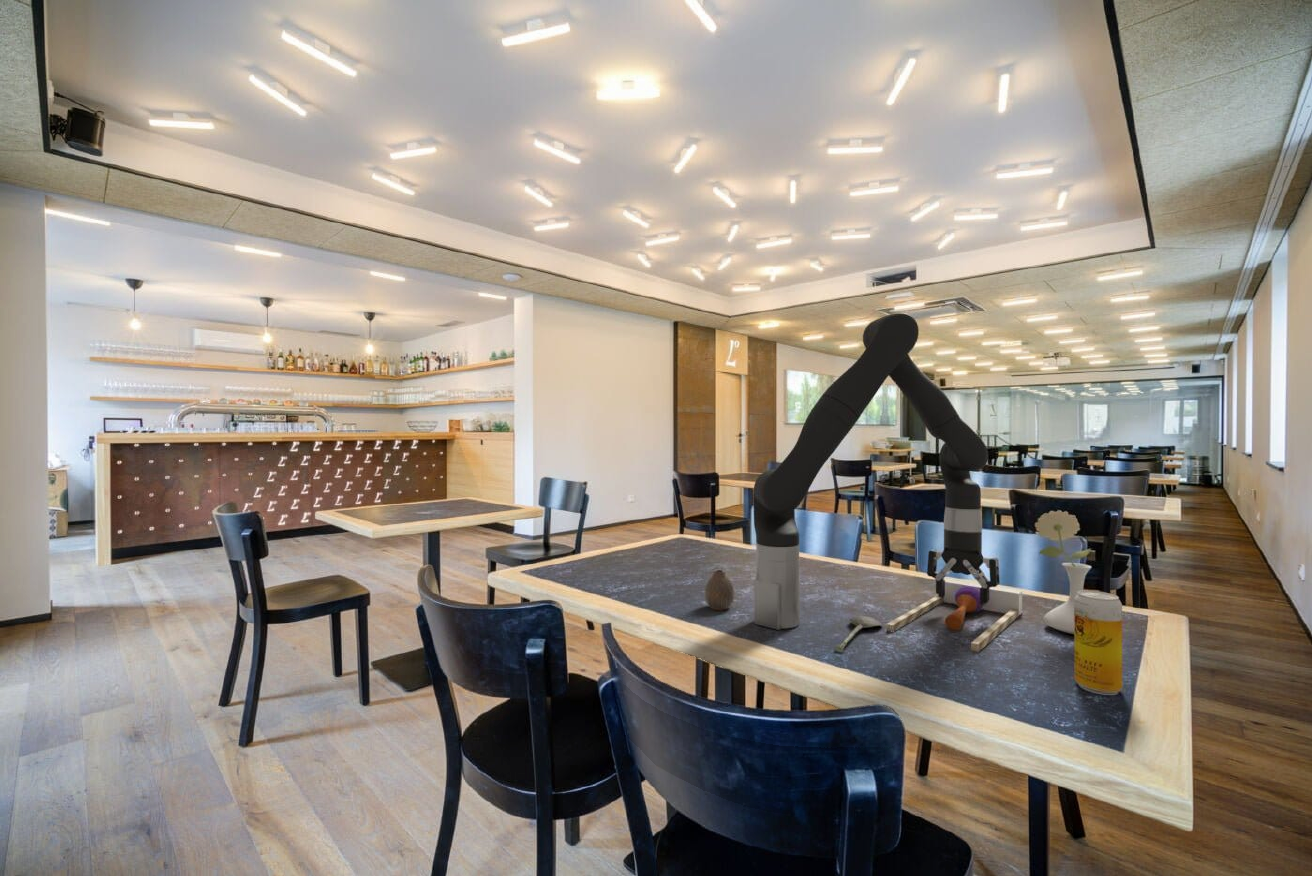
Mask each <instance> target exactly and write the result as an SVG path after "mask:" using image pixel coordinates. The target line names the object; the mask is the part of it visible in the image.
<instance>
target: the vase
mask: <svg viewBox="0 0 1312 876" xmlns="http://www.w3.org/2000/svg"><path fill="white" fill-rule="evenodd" d="M733 585H734V584H733V582H732V580H730V578H729V577H728V576H727V573H726V571H725V570H723V569H716V570H714V571H713V574H711V576H710V578H709V579H708V580H707V583H706V585H705V589H704V597H705V601H706V604H707V606H709V607H710V608H711V609H712V610H715V611H726V610H728V609H729V608H730V607H731V606H732V604H733V603H734V598H735V588H734V586H733Z"/></svg>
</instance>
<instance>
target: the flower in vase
mask: <svg viewBox="0 0 1312 876" xmlns="http://www.w3.org/2000/svg"><path fill="white" fill-rule="evenodd" d="M1080 526H1081V525H1080V523H1079V522H1078V518H1076V515H1074V514H1069V512H1068V511H1062V510H1060V509H1058V510H1057V511H1054V510H1050V511H1049V512H1048V513H1047V512H1045V513H1043V514H1041V515H1040V517H1039V518H1037V521H1036V522H1035V523H1034V527H1035V530H1036V531H1038V533H1037V534H1038V535H1039V536H1040V537H1042V538H1043V539H1047V538H1048V539H1049V540H1050V541H1057V542H1059V545H1060V548H1057V547H1055V546H1046V547H1045V548H1043V549H1041V550H1040V551H1039V552H1038V554H1039V555H1044V556H1048V557H1050V558H1051V557H1052V558H1056V557H1059V555H1061V554H1062V553H1063V554H1064V556H1065V557H1066V558H1067V559H1068V560H1069V562H1063V563H1061V566H1062V567H1063V568H1064V569H1065V571H1066V573H1067V577H1068V581H1069V597H1068V599H1067V600H1066V601H1065V602H1064V603H1062V604H1060V605H1058V606H1056V607H1055V608H1053V609H1051V610H1050V611H1048V612H1047V613H1045V614H1044V617H1043V620H1044V622H1045V623H1046V625H1048V626H1049V627H1050V628H1053V629H1054V630H1058V631H1060V632H1063V633H1068V634H1072V635H1074V598H1075V597H1076V595H1077V592H1078V591H1084V585H1085V580H1086V576H1087V574H1088V573H1089V571H1090V570H1091V569H1092V565H1089V564H1084V563H1078V562H1074V561H1072V560H1076V559H1077V560H1078V559H1082V558H1085V557H1086V556H1088V555H1089V554H1090V553H1091V550H1092V548H1088V549H1086V550H1080V551H1076V552H1074V553H1073V554H1072V555H1071V557H1070V556H1069V555H1068V554H1067V553H1066V551H1065V550H1064V547H1063V542H1062V541H1065V540H1067V539H1072V538H1074V537H1075V535H1076V534H1077V533H1078V531H1080V530H1081V527H1080Z"/></svg>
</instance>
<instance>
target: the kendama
mask: <svg viewBox="0 0 1312 876" xmlns="http://www.w3.org/2000/svg"><path fill="white" fill-rule="evenodd" d="M955 601H956V603H957V604H956V606H957V609H955V610H954V611H953V612H951V613H949V614H948V615H947V616H946V617H945V619H944V624H945V626H946V628H947V629H948V628H950V629H949V630H952V629H955V630H954V631H957V630H958V631H960V630H961V629H962V627H963V624H964V620H965V615H966V614H967V613H968V614H970V613H971V612H972V613H977V612H979V611H980V610H982V609H981V608H982V607H983V605H980V591H979V590H978V589H976V588H974V587H972V586H964V587H961V588H960V589H958V591H957V592H956V594H955Z"/></svg>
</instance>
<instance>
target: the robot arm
mask: <svg viewBox="0 0 1312 876" xmlns="http://www.w3.org/2000/svg"><path fill="white" fill-rule="evenodd" d="M918 338H919V326H918V322H917V320H916V319H915V318H914V317H913V316H912V315H910V314H908V313H905V312H894V313H889V314H887V315H884V316H882V317H879V318H877V319H875V320H873V321H871V322H870V323H869V324H867V326H866V327H865V328H864V331H863V334H862V343H863V345H864V348H865V350H864V351H863V353H862V354H861V355H860V357H859V358H857V360H856V361H855V362H854V364H852V365H851V366H850V367H849V368H848V369H847V370H846V371H844V372H843V373H842V375H840V376H839V377H838V378H837V379H835V381H833V383H832V384H830V385H829V386H828V388H827V389H826V390H825V391H824V392H823V393H822V395H821V396H820V398H819V399H818V400H817V402H816V403H815V404H814V406H813V407H812V408H811V410H810V412H809V413H808V415H807V417H806V419H805V421H804V424H803V426H802V428H801V431H800V434H799V436H798V438H797V441H796V443H795V445H794V447H793V448H792V449H791V451H790V452H789V453H788V455H787V456H786V457H785V458H784V460H783V461H782V462H781V463H780V464H779V465H778V467H777V468H776V469H768V470H765V471H764V472H761V474H760V475H758V477H757V478H756V480H755V482H754V484H753V485H754V486H753V494H752V495H753V496H752V497H753V499H752V500H753V502H752V503H753V525H754V526H753V528H754V532H755V545H756V546H755V547H756V549H755V551H756V552H755V555H756V556H755V573H756V575H755V577H756V579H754V580H753V589H754V590H753V592H754V593H753V599H754V600H753V607H754V608H753V617H754V618H753V620H754V621H753V623H754V624H755V625H759V626H763V627H767V628H770V629H773V630H782V629H792V628H796V627H797V626H799V625H800V532H799V529H798V526H797V522H796V518H795V517H796V516H795V515H796V514H795V510H796V509H797V508H798V507H799V506H800V505H801V503H802V501H803V500H804V498H806V494H807V493H808V491H809V489H810V487H811V486H812V484H813V482H814V480H815V479H816V478H817V475H818V474H819V472H820V471H821V469H822V468H823V466H824V465H825V463H826V462H827V461H828V460H829V458H831V456H832V455H833V454H834V452H835V451H836V450H837V448H838V447H839V446H840V444H841V443H842V442H843V440H844V439H845V438H846V436H848V435H849V433H850V431H851V430H852V429H853V427H854V425H855V424H856V423H857V422H858V420H859V419H860V418H861V416H862V415H863V413H864V411H865V410H866V408H868V407H869V404H870V403H871V401H872V400H873V398H874V397H875V396H876V394H877V393H878V391H879V390H880V388H881V386H882V385H883V383H885V381H886V379H887V378H888V377H889V378H890V379H891V380H892V382H893V383H894V384H895V385H896V386H897V388H898V389H900V391H901V392H902V394H903V395H904V396H905V398H906V399H907V400H908V401H909V404H910V405H911V406H912V408H913V409H914V411H915V412H916V414H917V416H918V417H919V419H920V421H921V422H922V423H923V424H924V425H923V426H924V427H925V429H926V430H927V432H928V433H929V434H930V435H931V436H932V437H934V438H935V439H939V440H941V441H942V442H944V443H943V444H942V446H941V447H940V451H939V453H938V454H939V457H938V458H939V459H938V461H939V463H938V464H939V467H940V473H941V476H942V480H943V483H944V488H945V495H944V496H945V498H944V499H945V501H944V502H945V504H944V505H945V506H944V507H945V508H944V514H943V517H944V518H943V551H939V550H937V549H931V550H929V551H928V556H927V570H926V571H927V572H926V574H927V576H928V577H931V578H933V579H935V593H936V594H937V596H939V597H944V596H945V580H944V579H945V578H946V576H947V575H948V574H949V573H951V572H952V573H954V574H963V575H967V576H969V575H971V576H972V577H973V579H974V580H976V581H977V582H978V584H979V585H981V588H980V605H985V604H986V603H987V602H989V589H990V587H998V586H999V585H1000V581H1001V579H1000V566H999V565H1000V564H999V558H998V557H984V556H983V553H982V552H983V551H982V550H983V549H982V547H983V546H982V545H983V542H982V541H983V538H982V537H983V517H982V511H981V509H982V508H981V507H982V505H981V504H982V503H981V502H982V494H981V493H982V492H981V491H982V490H981V486H980V485H979V484H978V483H977V482H975V481H973V480H972V477H971V474H970V472H974V471H979V470H981V469H983V468H984V467H985V466H986V465H987V463H988V461H989V452H988V448H987V446H986V444H985V443H984V440H983V439H982V438H981V437H980V436H979V435H978V434H977V432H975V431H974V430H973V428H971V427H970V426H969V425H968V424H967V423H966V422H965V421H964V420H963V419H962V418H961V417H960V415H959V413H958V411H957V410H956V409H955V407H954V405H953V404H952V402H951V401H950V399H949V398H948V396H947V394H945V392H944V391H943V390H942V389H941V388H940V387H939V386H938V385H937V384H936V383H935V382H934V381H932V379H930V378H929V377H928V376H927V375H926V374H925V373H924V372H923V371H921V369H920V368H919V367H918V366H917V365H916V363H915V362H914V360H912V358H911V357H910V352H911V351H912V350H913V349H914V347H915V346H916V343H917V342H918ZM941 558H942V560H943V561H944V563H945V565H944V566H943V567H942V568H941V569H940V571H939V572H938V571H937V566H938V561H939V560H940V559H941ZM983 564H985V566H986V568H988V569H989V579H988V578H987V577H986V574H985V572H983V570H982V569H981V566H982V565H983Z"/></svg>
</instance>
